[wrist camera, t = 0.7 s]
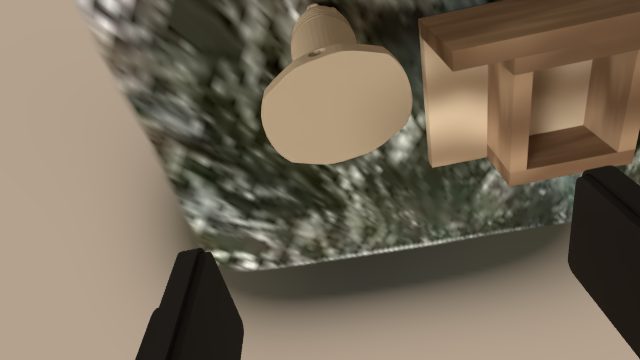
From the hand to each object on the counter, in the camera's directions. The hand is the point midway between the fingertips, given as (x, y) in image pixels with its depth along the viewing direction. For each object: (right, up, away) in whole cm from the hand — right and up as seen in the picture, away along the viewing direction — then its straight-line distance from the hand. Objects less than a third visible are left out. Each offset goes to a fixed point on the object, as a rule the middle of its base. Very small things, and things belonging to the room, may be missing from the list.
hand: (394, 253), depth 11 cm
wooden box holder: (+15, +10, +23) cm, 29 cm away
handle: (-2, +13, +20) cm, 24 cm away
